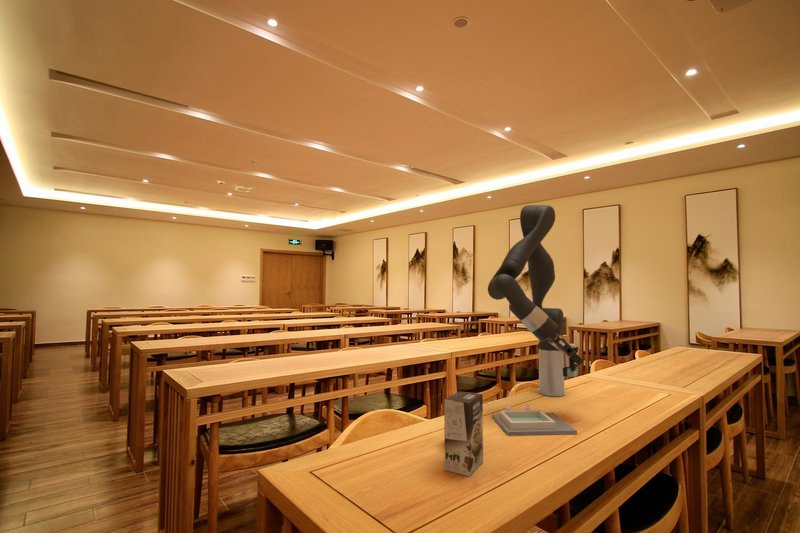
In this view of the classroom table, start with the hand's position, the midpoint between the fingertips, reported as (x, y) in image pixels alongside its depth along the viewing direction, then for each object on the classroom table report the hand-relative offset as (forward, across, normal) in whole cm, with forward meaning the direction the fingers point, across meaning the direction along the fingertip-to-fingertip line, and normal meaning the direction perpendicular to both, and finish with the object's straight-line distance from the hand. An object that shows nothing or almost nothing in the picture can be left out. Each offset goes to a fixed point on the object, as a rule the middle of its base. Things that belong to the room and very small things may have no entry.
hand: (578, 361), depth 126 cm
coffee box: (-13, -37, +39) cm, 56 cm away
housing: (+2, -7, +24) cm, 25 cm away
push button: (+2, 0, +5) cm, 5 cm away
